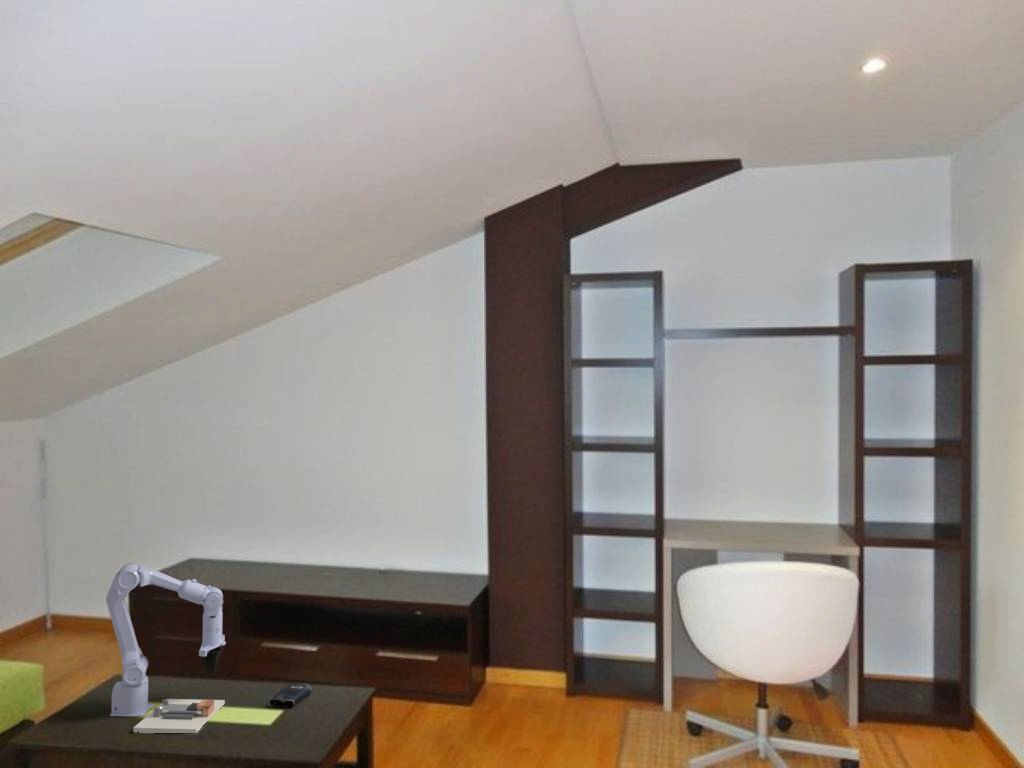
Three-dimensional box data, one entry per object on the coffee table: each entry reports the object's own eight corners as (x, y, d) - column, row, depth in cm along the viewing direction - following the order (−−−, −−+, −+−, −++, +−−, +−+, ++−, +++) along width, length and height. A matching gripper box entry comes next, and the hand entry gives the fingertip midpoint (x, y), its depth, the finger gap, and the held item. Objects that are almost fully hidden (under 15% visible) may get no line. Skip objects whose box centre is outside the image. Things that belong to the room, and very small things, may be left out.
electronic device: (296, 714, 232) (316, 689, 246) (293, 697, 231) (313, 673, 246) (268, 716, 233) (290, 690, 248) (265, 699, 233) (287, 674, 247)
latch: (196, 715, 222) (196, 705, 222) (202, 709, 226) (202, 699, 226) (208, 715, 222) (208, 705, 222) (213, 710, 226) (214, 700, 226)
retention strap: (155, 712, 222) (155, 707, 222) (161, 707, 226) (162, 701, 226) (201, 715, 222) (201, 709, 222) (207, 709, 226) (207, 703, 226)
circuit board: (133, 733, 214) (133, 718, 214) (167, 703, 234) (167, 690, 234) (196, 734, 214) (196, 719, 214) (224, 705, 234) (224, 691, 234)
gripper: (215, 635, 229) (214, 680, 229) (234, 621, 243) (233, 663, 243) (192, 635, 229) (191, 680, 229) (212, 620, 243) (211, 663, 243)
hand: (211, 671), depth 236 cm, fingers closed
